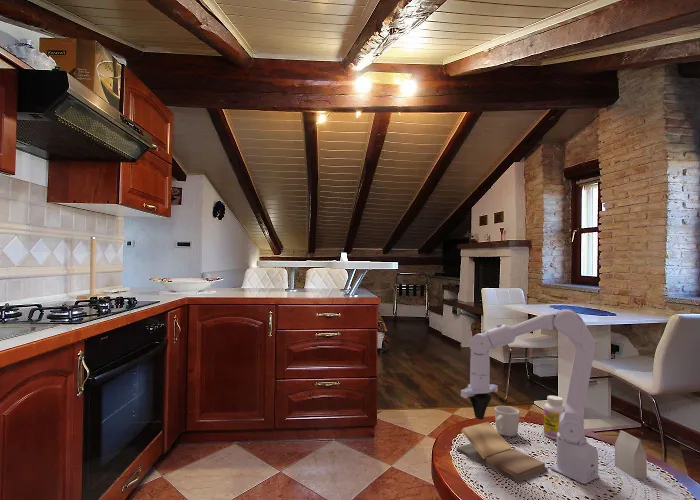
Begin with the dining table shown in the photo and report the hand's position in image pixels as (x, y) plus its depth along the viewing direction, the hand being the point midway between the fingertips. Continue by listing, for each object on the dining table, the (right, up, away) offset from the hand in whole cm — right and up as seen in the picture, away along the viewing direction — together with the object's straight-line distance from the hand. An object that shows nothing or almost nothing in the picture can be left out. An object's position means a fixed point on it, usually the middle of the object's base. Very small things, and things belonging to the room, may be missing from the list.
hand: (479, 418), depth 120 cm
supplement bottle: (+29, -11, +11) cm, 33 cm away
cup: (+12, -11, +11) cm, 20 cm away
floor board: (+4, -9, -7) cm, 12 cm away
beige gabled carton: (+38, -10, -11) cm, 41 cm away
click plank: (+1, -6, -2) cm, 6 cm away
